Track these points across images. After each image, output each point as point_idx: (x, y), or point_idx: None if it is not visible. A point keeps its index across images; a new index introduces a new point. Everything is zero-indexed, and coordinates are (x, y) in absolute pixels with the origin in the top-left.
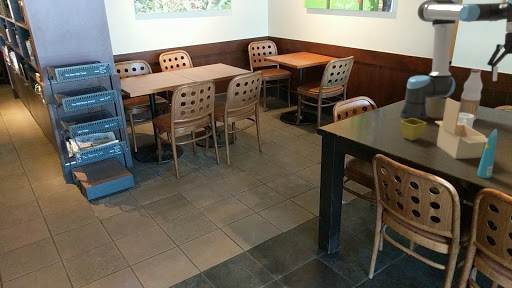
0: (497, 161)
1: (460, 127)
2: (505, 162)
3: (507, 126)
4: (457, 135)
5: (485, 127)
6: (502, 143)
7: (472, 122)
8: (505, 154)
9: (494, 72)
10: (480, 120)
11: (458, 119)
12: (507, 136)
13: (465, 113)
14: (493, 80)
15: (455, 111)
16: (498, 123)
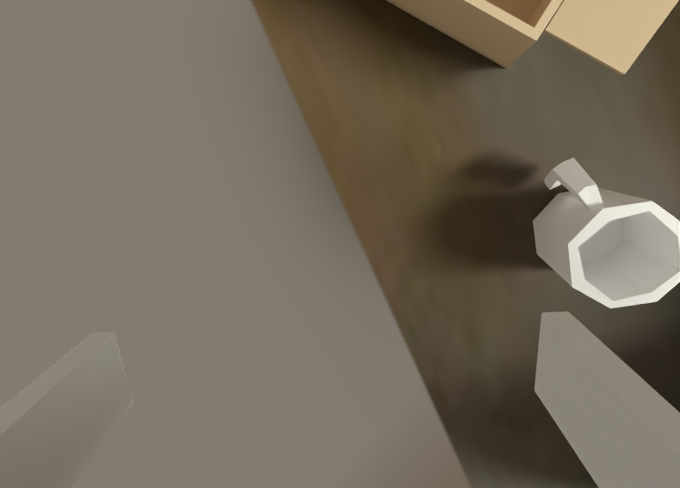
0: (295, 11)
1: (542, 12)
2: (272, 31)
3: (461, 466)
4: (532, 20)
5: (525, 392)
6: (380, 242)
7: (556, 261)
8: (313, 122)
9: (641, 403)
10: (588, 474)
11: (636, 198)
12: (405, 342)
13: (640, 294)
14: (558, 315)
15: None
16: (506, 482)
